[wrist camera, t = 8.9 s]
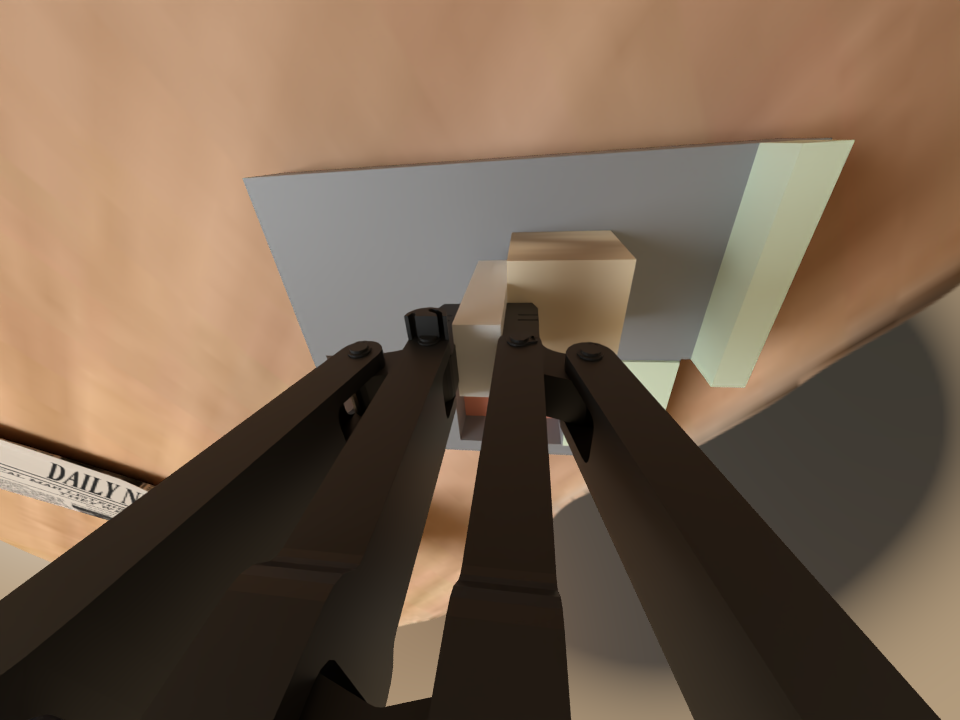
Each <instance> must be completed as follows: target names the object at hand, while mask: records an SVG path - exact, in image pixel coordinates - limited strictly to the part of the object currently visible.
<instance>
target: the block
mask: <svg viewBox="0 0 960 720" xmlns="http://www.w3.org/2000/svg"><path fill="white" fill-rule="evenodd" d="M636 260H637V259H636V258H635V257H634V256H633V255H632V254H631V253H630V252H629V250H628V249H627V248H626V247H625V246H624V245H623V244H622V243H621V242H620V240H619V239H618V238H617V237H616V236H615V235H614V234H613V233H612V231H611V230H602V231H558V232H513V233H512V234H511V240H510V246H509V251H508V257H507V303H533V304H534V305H535V306H536V307H537V308H538V317H539V334H540V339H541V341H542V344H543V346H545V347H546V348H548V349H550V350H553V351H556V352H560V353H565V354H566V350H567V349H568V347H570V346H571V345H573V344H576V343H581V342H593V343H599V344H601V345H604V346H606V347H608V348H610V349H611V350H612V351H613V352H614V353H615V354H616V355H617V354H618V349H619V344H620V339H621V334H622V329H623V324H624V319H625V314H626V309H627V304H628V299H629V294H630V289H631V284H632V279H633V275H634V270H635V265H636Z"/></svg>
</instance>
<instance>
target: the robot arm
mask: <svg viewBox="0 0 960 720" xmlns="http://www.w3.org/2000/svg"><path fill="white" fill-rule="evenodd" d="M404 319H405V325H406V330H407V335H408V341H407V343H406V345H405V346H404V348H403V350H398V351H393V352H387V353H383V349H382V346H381V345H380V344H379V343H378V342H374V341H358V342H355V343H353V344H350V345H348V346H346V347H344V348H342V349H341V350H340V351H338V352H337V353H336V354H334V355H333V356H332V357H330V358H329V359H328V360H326V361H325V362H323V363H322V364H321V365H319V366H318V367H317V368H315V369H314V370H313V371H311V372H310V373H308V374H307V375H306V376H304V377H303V378H302V379H300V380H299V381H298V382H296V383H295V384H294V385H292V386H291V387H289V388H288V389H287V390H285V391H284V392H283V393H281V394H280V395H279V396H277V397H276V398H275V399H273V400H272V401H270V402H269V403H268V404H266V405H265V406H264V407H262V408H261V409H260V410H258V411H257V412H256V413H254V414H253V415H251V416H250V417H249V418H247V419H246V420H245V421H243V422H242V423H241V424H239V425H238V426H236V427H235V428H234V429H232V430H231V431H230V432H228V433H227V434H226V435H224V436H223V437H222V438H220V439H219V440H217V441H216V442H215V443H213V444H212V445H211V446H209V447H208V448H207V449H205V450H204V451H203V452H201V453H200V454H198V455H197V456H196V457H194V458H193V459H192V460H190V461H189V462H188V463H186V464H185V465H183V466H182V467H181V468H179V469H178V470H177V471H175V472H174V473H173V474H171V475H170V476H169V477H167V478H166V479H164V480H163V481H162V482H160V483H159V484H158V485H156V486H155V487H154V488H152V489H151V490H150V491H148V492H147V493H145V494H144V495H143V496H141V497H140V498H139V499H137V500H136V501H135V502H133V503H132V504H131V505H129V506H128V507H126V508H125V509H124V510H122V511H121V512H120V513H118V514H117V515H116V516H114V517H113V518H111V519H110V520H109V521H107V522H106V523H105V524H103V525H102V526H101V527H99V528H98V529H97V530H95V531H94V532H92V533H91V534H90V535H88V536H87V537H86V538H84V539H83V540H82V541H80V542H79V543H78V544H76V545H75V546H73V547H72V548H71V549H69V550H68V551H67V552H65V553H64V554H63V555H61V556H60V557H58V558H57V559H56V560H54V561H53V562H52V563H50V564H49V565H48V566H46V567H45V568H44V569H42V570H41V571H40V572H38V573H37V574H35V575H34V576H33V577H31V578H30V579H29V580H27V581H26V582H25V583H23V584H22V585H20V586H19V587H18V588H16V589H15V590H14V591H12V592H11V593H10V594H8V595H7V596H6V597H4V598H3V599H1V600H0V720H571V713H570V699H569V685H568V672H567V658H566V644H565V630H564V619H563V609H562V602H561V597H560V594H559V592H558V588H557V580H556V565H555V548H554V533H553V516H552V500H551V484H550V468H549V452H548V436H547V419H546V416H547V417H550V418H554V419H558V420H559V423H560V428H561V430H562V432H563V434H564V436H565V439H566V441H567V443H568V445H569V447H570V449H571V452H572V454H573V456H574V458H575V460H576V463H577V465H578V467H579V469H580V471H581V474H582V476H583V478H584V480H585V482H586V484H587V487H588V489H589V491H590V493H591V495H592V498H593V500H594V502H595V504H596V506H597V508H598V511H599V513H600V515H601V517H602V519H603V521H604V524H605V526H606V528H607V530H608V532H609V535H610V537H611V539H612V541H613V543H614V546H615V548H616V550H617V552H618V554H619V556H620V558H621V561H622V563H623V565H624V567H625V570H626V572H627V574H628V576H629V578H630V580H631V583H632V585H633V587H634V589H635V591H636V594H637V596H638V598H639V600H640V602H641V604H642V607H643V609H644V611H645V613H646V615H647V617H648V620H649V622H650V624H651V626H652V628H653V631H654V633H655V635H656V637H657V639H658V642H659V644H660V646H661V648H662V650H663V652H664V655H665V657H666V659H667V661H668V663H669V666H670V668H671V670H672V672H673V674H674V677H675V679H676V681H677V683H678V685H679V687H680V690H681V692H682V694H683V696H684V698H685V700H686V702H687V705H688V707H689V709H690V711H691V714H692V716H693V718H694V720H941V719H940V718H939V717H938V716H937V715H936V714H935V713H934V711H933V710H932V709H931V708H930V707H929V706H928V705H927V703H926V702H925V701H924V700H923V699H922V698H921V697H920V696H919V694H918V693H917V692H916V691H915V690H914V689H913V688H912V687H911V685H910V684H909V683H908V682H907V681H906V680H905V679H904V678H903V676H902V675H901V674H900V673H899V672H898V671H897V670H896V669H895V667H894V666H893V665H892V664H891V663H890V662H889V661H888V660H887V659H886V657H885V656H884V655H883V654H882V653H881V652H880V651H879V650H878V649H877V647H876V646H875V645H874V644H873V643H872V642H871V640H870V639H869V638H868V637H867V636H866V635H865V634H864V633H863V631H862V630H861V629H860V628H859V627H858V626H857V625H856V624H855V623H854V622H853V620H852V619H851V618H850V617H849V616H848V615H847V614H846V612H845V611H844V610H843V609H842V608H841V607H840V606H839V604H838V603H837V602H836V601H835V600H834V599H833V598H832V597H831V596H830V594H829V593H828V592H827V591H826V590H825V589H824V588H823V587H822V585H821V584H819V582H818V581H817V580H816V579H815V578H814V576H813V575H812V574H811V573H810V572H809V571H808V570H807V569H806V568H805V566H804V565H803V564H802V563H801V562H800V561H799V560H798V559H797V557H796V556H795V555H794V554H793V553H792V552H791V551H790V549H789V548H788V547H787V546H786V545H785V544H784V543H783V542H782V541H781V539H780V538H779V537H778V536H777V535H776V534H775V533H774V532H773V530H772V529H771V528H770V527H769V526H768V525H767V524H766V522H764V520H763V519H762V518H761V517H760V516H759V515H758V513H756V511H755V510H754V509H753V508H752V507H751V506H750V504H748V502H747V501H746V500H745V499H744V498H743V497H742V495H741V494H740V493H739V492H738V491H737V490H736V489H735V488H734V487H733V485H732V484H731V483H730V482H729V481H728V480H727V479H726V478H725V476H724V475H723V474H722V473H721V472H720V471H719V470H718V469H717V467H716V466H715V465H714V464H713V463H712V462H711V461H710V460H709V458H708V457H707V456H706V455H705V454H704V453H703V452H702V450H701V449H700V448H699V447H698V446H697V445H696V444H695V443H694V442H693V440H692V439H691V438H690V437H689V436H688V435H687V434H686V433H685V431H684V430H683V429H682V428H681V427H680V426H679V425H678V424H677V422H676V421H675V420H674V419H673V418H672V417H671V416H670V415H669V413H668V412H667V411H666V410H665V409H664V408H663V407H662V406H661V404H660V403H659V402H658V401H657V400H656V399H655V398H654V397H653V395H652V394H651V393H650V392H649V391H648V390H647V389H646V388H645V386H644V385H643V384H642V383H641V382H640V381H639V380H638V379H637V377H636V376H635V375H634V374H633V373H632V372H631V371H630V370H629V368H628V367H627V366H626V365H625V364H624V363H623V362H622V361H621V359H620V358H619V357H618V356H617V355H616V354H615V353H614V352H613V351H612V350H611V349H610V348H608V347H606V346H604V345H601V344H599V343H593V342H581V343H576V344H573V345H571V346H570V347H568V349H567V350H566V354H565V353H560V352H556V351H553V350H550V349H548V348H546V347H545V346H543V344H542V341H541V339H540V334H539V317H538V308H537V307H536V306H535V305H534V304H533V303H507V260H491V261H478V263H477V266H476V268H475V271H474V273H473V275H472V278H471V280H470V283H469V285H468V287H467V290H466V292H465V294H464V297H463V299H462V302H461V304H444V305H442V306H441V307H439V308H434V307H427V308H419V309H415V310H413V311H410V312H408V313H407V314H406V315H405V316H404ZM458 386H459V395H460V396H470V397H489V399H488V405H487V412H486V418H485V424H484V430H483V437H482V443H481V449H480V456H479V462H478V468H477V475H476V481H475V487H474V494H473V500H472V506H471V512H470V519H469V525H468V531H467V538H466V544H465V550H464V557H463V563H462V568H461V574H460V577H459V580H458V581H457V582H456V584H455V585H454V586H453V590H452V593H451V596H450V600H449V605H448V610H447V614H446V620H445V626H444V631H443V637H442V643H441V648H440V654H439V660H438V666H437V672H436V677H435V683H434V688H433V695H432V697H430V698H425V699H421V700H416V701H411V702H406V703H402V704H397V705H392V706H387V707H385V706H386V702H387V698H388V693H389V688H390V684H391V678H392V670H393V648H394V640H395V635H396V631H397V627H398V623H399V619H400V616H401V612H402V608H403V605H404V601H405V597H406V593H407V590H408V586H409V582H410V579H411V575H412V571H413V567H414V564H415V560H416V556H417V553H418V549H419V545H420V541H421V538H422V534H423V530H424V526H425V523H426V519H427V515H428V512H429V508H430V504H431V500H432V497H433V493H434V489H435V486H436V482H437V478H438V474H439V471H440V467H441V463H442V460H443V456H444V452H445V448H446V445H447V441H448V437H449V434H450V430H451V426H452V422H453V419H454V415H455V411H456V407H457V399H456V391H457V387H458ZM350 397H351V400H352V403H353V406H354V408H353V409H352V410H351V411H350V412H348V413H347V411H346V409H345V406H344V403H345V402H346V401H347V400H348V399H349V398H350Z"/></svg>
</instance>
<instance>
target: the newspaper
mask: <svg viewBox="0 0 960 720" xmlns="http://www.w3.org/2000/svg"><path fill="white" fill-rule="evenodd" d="M154 487H155V486H153V485H150V484H147V483H144V482H141V481H138V480H135V479H132V478H129V477H126V476H122V475H119V474H116V473H113V472H109V471H106V470H103V469H100V468H96V467H93V466H90V465H87V464H83V463H80V462H77V461H74V460H70V459H67V458H64V457H61V456H57V455H54V454H51V453H48V452H44V451H41V450H38V449H35V448H31V447H28V446H25V445H22V444H18V443H15V442H12V441H9V440H5V439H2V438H0V489H3V490H7V491H10V492H13V493H17V494H20V495H24V496H27V497H31V498H34V499H37V500H41V501H44V502H48V503H51V504H54V505H58V506H61V507H65V508H68V509H72V510H75V511H78V512H82V513H85V514H89V515H92V516H96V517H99V518H102V519H106V520H110V519H111V518H113V517H114V516H116V515H117V514H118V513H120V512H121V511H122V510H124V509H125V508H126V507H128V506H129V505H131V504H132V503H133V502H135V501H136V500H137V499H139V498H140V497H141V496H143V495H144V494H145V493H147V492H148V491H150V490H151V489H152V488H154Z"/></svg>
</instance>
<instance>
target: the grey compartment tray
mask: <svg viewBox="0 0 960 720" xmlns="http://www.w3.org/2000/svg"><path fill="white" fill-rule="evenodd" d="M854 141H855V140H832V138H780V139H765V140H751V141H736V142H722V143H708V144H693V145H679V146H665V147H650V148H636V149H622V150H607V151H593V152H578V153H564V154H550V155H535V156H521V157H507V158H492V159H478V160H463V161H449V162H435V163H420V164H406V165H392V166H377V167H363V168H349V169H334V170H320V171H305V172H291V173H279V174H271V175H264V176H256V177H248V178H243V181H244V183H245V186H246V189H247V191H248V194H249V196H250V199H251V201H252V204H253V207H254V209H255V212H256V214H257V217H258V219H259V222H260V225H261V227H262V230H263V232H264V235H265V237H266V240H267V243H268V245H269V248H270V250H271V253H272V255H273V258H274V261H275V263H276V266H277V268H278V271H279V273H280V276H281V279H282V281H283V284H284V286H285V289H286V291H287V294H288V297H289V299H290V302H291V304H292V307H293V309H294V312H295V315H296V317H297V320H298V322H299V325H300V327H301V330H302V333H303V335H304V338H305V340H306V343H307V345H308V348H309V351H310V353H311V356H312V358H313V361H314V363H315V366H316V368H317V367H318V366H319V365H321V364H322V363H323V362H325V361H326V360H328V359H329V358H330V357H332V356H333V355H334V354H336V353H337V352H338V351H340V350H341V349H342V348H344V347H346V346H348V345H350V344H353V343H355V342H358V341H374V342H378V343H379V344H380V345H381V346H382V349H383V353H387V352H393V351H398V350H403V348H404V346H405V345H406V343H407V341H408V335H407V330H406V325H405V319H404V316H405V315H406V314H407V313H408V312H410V311H413V310H415V309H419V308H427V307H434V308H439V307H441V306H442V305H444V304H461V302H462V299H463V297H464V294H465V292H466V290H467V287H468V285H469V283H470V280H471V278H472V275H473V273H474V271H475V268H476V266H477V263H478V261H491V260H507V257H508V251H509V246H510V240H511V234H512V233H513V232H558V231H602V230H611V231H612V233H613V234H614V235H615V236H616V237H617V238H618V239H619V240H620V242H621V243H622V244H623V245H624V246H625V247H626V248H627V249H628V250H629V252H630V253H631V254H632V255H633V256H634V257H635V258H636V259H637V260H636V265H635V270H634V275H633V279H632V284H631V289H630V294H629V299H628V304H627V309H626V314H625V319H624V324H623V329H622V334H621V339H620V344H619V349H618V354H617V356H618V357H619V358H620V359H621V361H622V362H623V363H624V364H625V365H626V366H627V367H628V368H629V370H630V371H631V372H632V373H633V374H634V375H635V376H636V377H637V379H638V380H639V381H640V382H641V383H642V384H643V385H644V386H645V388H646V389H647V390H648V391H649V392H650V393H651V394H652V395H653V397H654V398H655V399H656V400H657V401H658V402H659V403H660V404H661V406H662V407H663V408H664V409H665V410H666V407H667V404H668V401H669V397H670V394H671V391H672V387H673V384H674V381H675V377H676V374H677V371H678V367H679V364H680V361H681V359H691V360H692V362H693V363H694V364H695V366H696V367H697V368H698V370H699V371H700V373H701V374H702V375H703V377H704V378H705V379H706V381H707V382H708V383H709V385H710V386H711V387H738V388H745V387H746V384H747V382H748V380H749V378H750V375H751V373H752V371H753V369H754V366H755V364H756V362H757V360H758V357H759V355H760V353H761V351H762V348H763V346H764V344H765V342H766V339H767V337H768V335H769V333H770V330H771V328H772V326H773V324H774V321H775V319H776V317H777V315H778V312H779V310H780V308H781V306H782V303H783V301H784V299H785V297H786V294H787V292H788V290H789V288H790V285H791V283H792V281H793V279H794V276H795V274H796V272H797V270H798V267H799V265H800V263H801V261H802V258H803V256H804V254H805V252H806V249H807V247H808V245H809V243H810V240H811V238H812V236H813V234H814V231H815V229H816V227H817V225H818V222H819V220H820V218H821V216H822V213H823V211H824V209H825V207H826V204H827V202H828V200H829V198H830V195H831V193H832V191H833V189H834V186H835V184H836V182H837V180H838V177H839V175H840V173H841V171H842V168H843V166H844V164H845V161H846V159H847V157H848V155H849V152H850V150H851V148H852V146H853V143H854ZM456 399H457V407H456V411H455V415H454V419H453V422H452V426H451V430H450V434H449V437H448V441H447V445H446V448H445V449H454V450H475V451H480V449H481V443H482V437H483V430H484V424H485V418H486V412H487V405H488V399H489V397H470V396H460V395H459V386H458V387H457V391H456ZM344 406H345V409H346V411H347V413H348V412H350V411H351V410H352V409H353V408H354V406H353V403H352V400H351V397H350V398H349V399H348V400H347V401H346V402H345V403H344ZM546 419H547V436H548V452H549V454H558V455H573V454H572V452H571V449H570V447H569V445H568V443H567V441H566V439H565V436H564V434H563V432H562V430H561V428H560V423H559V420H558V419H554V418H550V417H547V416H546Z"/></svg>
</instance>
